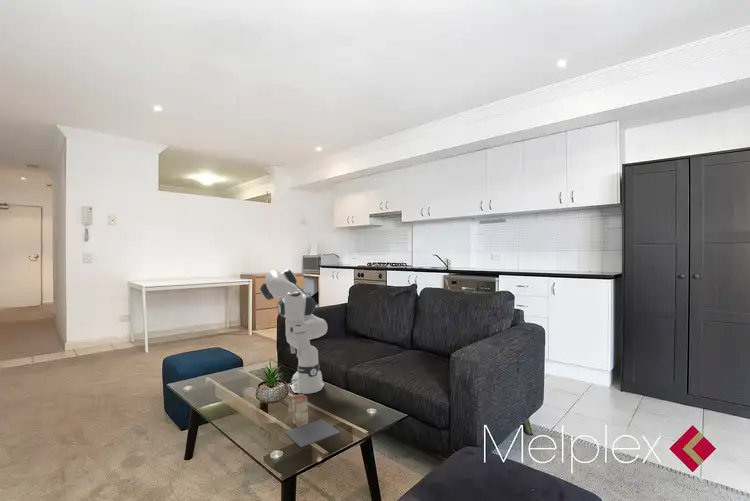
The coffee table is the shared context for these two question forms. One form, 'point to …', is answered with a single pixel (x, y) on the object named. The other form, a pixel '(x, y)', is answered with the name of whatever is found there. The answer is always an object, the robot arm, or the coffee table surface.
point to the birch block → (300, 410)
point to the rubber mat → (311, 433)
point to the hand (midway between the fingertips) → (296, 355)
